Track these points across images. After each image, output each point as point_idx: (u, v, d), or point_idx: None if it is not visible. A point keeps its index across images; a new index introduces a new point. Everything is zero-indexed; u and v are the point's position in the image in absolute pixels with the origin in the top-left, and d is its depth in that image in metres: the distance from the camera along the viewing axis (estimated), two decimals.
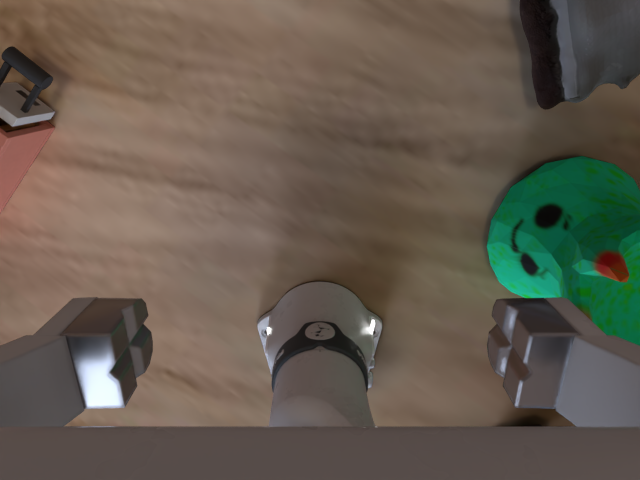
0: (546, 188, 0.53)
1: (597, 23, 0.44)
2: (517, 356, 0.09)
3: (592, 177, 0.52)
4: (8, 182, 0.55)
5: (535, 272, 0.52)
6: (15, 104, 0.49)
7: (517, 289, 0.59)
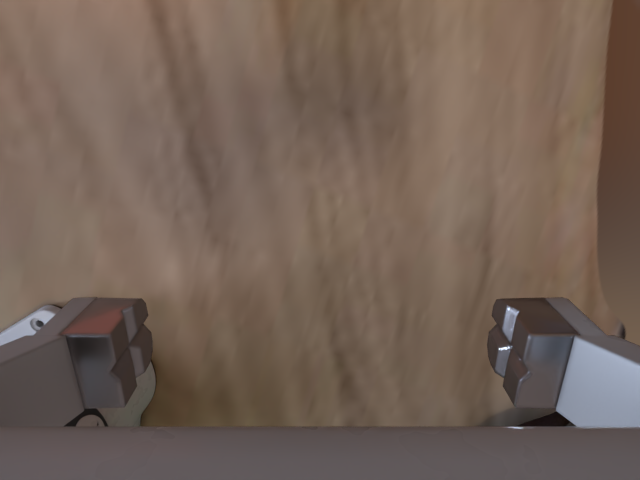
0: None
1: None
2: (517, 356, 0.09)
3: None
4: None
5: None
6: None
7: None
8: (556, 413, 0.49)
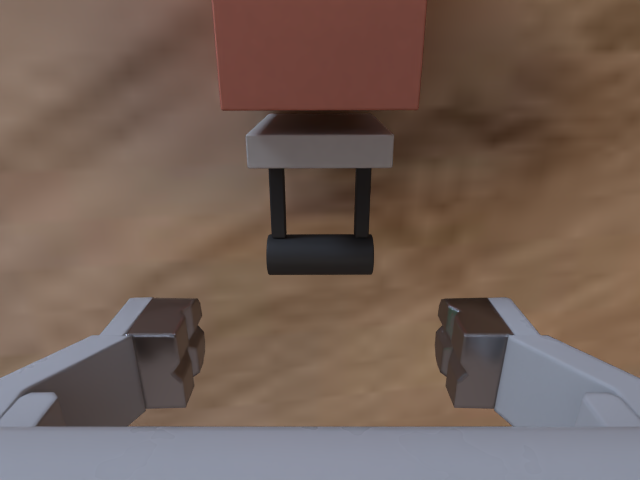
0: None
1: None
2: None
3: None
4: None
5: None
6: None
7: None
8: None
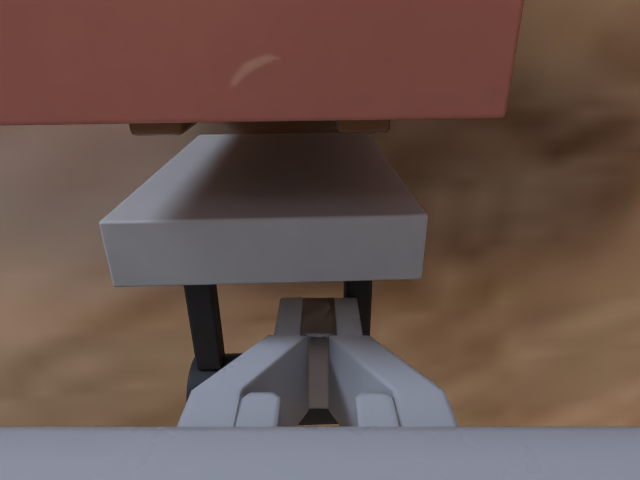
0: None
1: None
2: None
3: None
4: None
5: None
6: None
7: None
8: None
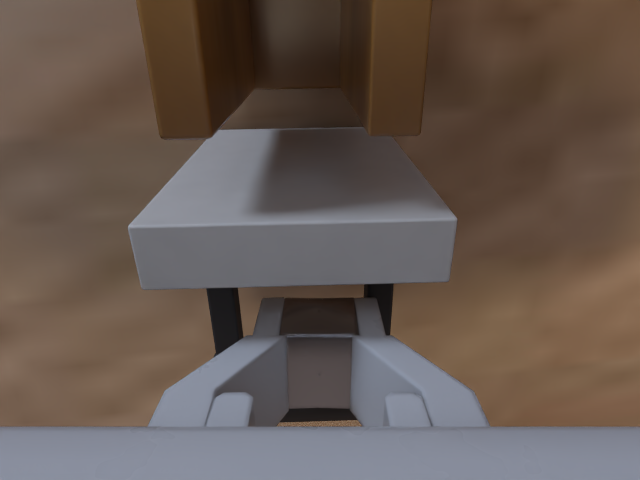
0: None
1: None
2: None
3: None
4: None
5: None
6: None
7: None
8: None
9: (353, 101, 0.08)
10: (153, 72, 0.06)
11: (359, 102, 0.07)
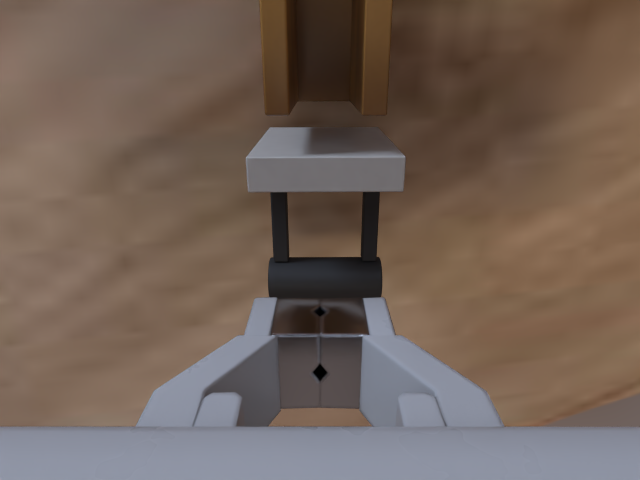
0: None
1: None
2: None
3: None
4: None
5: None
6: None
7: None
8: None
9: (356, 103, 0.16)
10: (266, 84, 0.13)
11: (359, 101, 0.15)
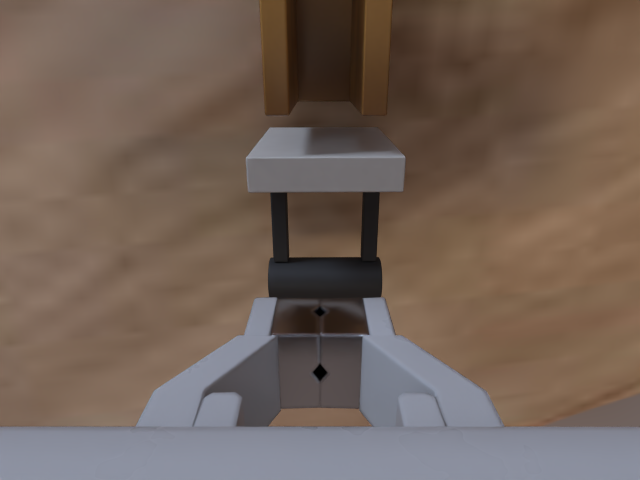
0: None
1: None
2: None
3: None
4: None
5: None
6: None
7: None
8: None
9: (356, 103, 0.16)
10: (266, 84, 0.14)
11: (358, 102, 0.15)
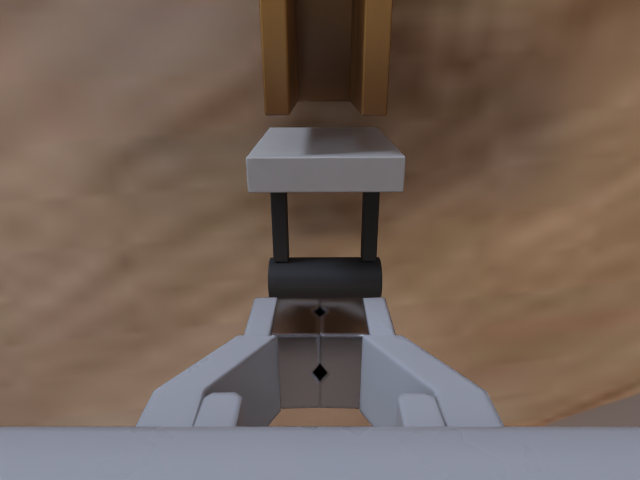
0: None
1: None
2: None
3: None
4: None
5: None
6: None
7: None
8: None
9: (356, 103, 0.16)
10: (266, 84, 0.14)
11: (358, 102, 0.15)
